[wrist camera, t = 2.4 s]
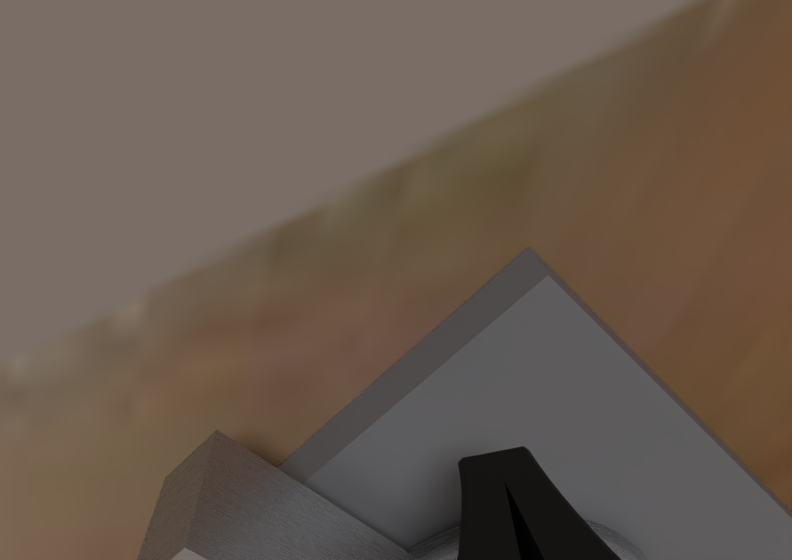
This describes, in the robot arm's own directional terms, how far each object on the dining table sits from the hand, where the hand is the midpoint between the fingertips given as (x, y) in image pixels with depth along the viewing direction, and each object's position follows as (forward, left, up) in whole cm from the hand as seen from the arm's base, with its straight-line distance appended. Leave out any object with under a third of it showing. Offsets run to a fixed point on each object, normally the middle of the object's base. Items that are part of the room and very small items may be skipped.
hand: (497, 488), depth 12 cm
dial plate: (+5, +7, -4) cm, 9 cm away
